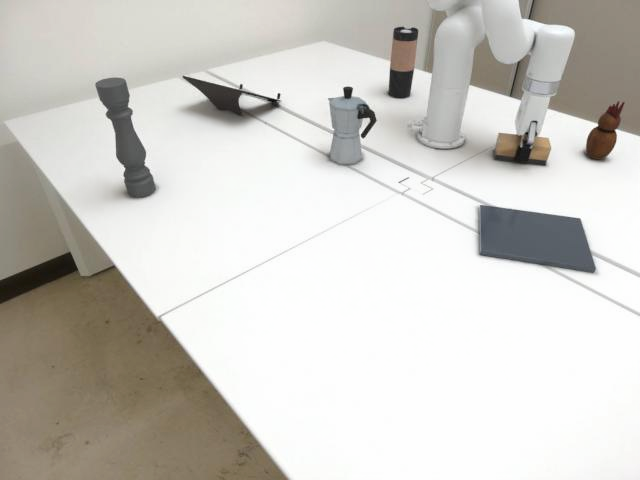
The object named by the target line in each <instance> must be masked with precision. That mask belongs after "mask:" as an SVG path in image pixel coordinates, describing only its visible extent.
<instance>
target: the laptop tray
mask: <svg viewBox="0 0 640 480" xmlns="http://www.w3.org/2000/svg"><path fill="white" fill-rule="evenodd" d="M181 77H182V79H183V80H185V81H186V82H188V83H189V84H191V85H192V86H193V87H194V88H195V89H197V90H198V91H199V92H200V93H201V94H203V96H205V97H206V99H208V100H209V101H210V103H211V104H212V105H213V106H214V107H215V108H216V109H217V110H220V111H226V112H230V113H232V114H235V115H237V116H241V117H242V116H243V112H242V109H241V106H240V97H241V95H243V96H246V97H251V98H255V99H258V100H263V101H265V102H269V103H271V104H275V105H279V102H282V100H281V95H282V93H280V92H278V93H277V96H276V98H273V97H269V96H265V95H261V94H258V93H254V92H251V91H246V90H243V85H244V84H242V83H240V84H239V89H238V88H234V87H230V86H226V85H221V84H218V83H214V82H210V81H207V80H201V79H198V78H195V77H190V76H186V75H182V76H181Z"/></svg>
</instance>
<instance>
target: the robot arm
mask: <svg viewBox="0 0 640 480" xmlns="http://www.w3.org/2000/svg"><path fill="white" fill-rule="evenodd" d="M425 1H426V3H427V5H428V6H429V7H430V9H432V10H434V11H438V12H445V14H446V18H444V20H443V21H442V22H441V23H440V24H439V26H438V28H437V30H436V33H435V36H434V42H433V63H432V73H431V77H430V87H429V94H428V101H427V107H426V112H425V113H426V114H425V117H424V120H421V119H420V120H419V121H418V120H414V119H413V120H412V119H408V122H407V128H411V131H414V132H417V136H416V138H417V139H418V141H419V142H420V143H421V144H423V145H424V146H427V147H430V148H433V149H441V150H448V149H449V150H451V149H456V148H458V147H460V146H462V145H463V144H464V143H465V138H466V135H465V134H464V133H463V132H462V131H461V128H462V125H463V118H464V114H465V110H466V104H467V100H468V94H469V89H470V85H471V84H470V83H471V80H472V73H473V67H474V66H473V65H474V54H475V50H476V47H477V46H478V45H480V44H481V43H482V42H483V41H484V40H485V38H486V37H487V41H488V44H489V48H490V51H491V53H492V55H493V57H494V58H495V59H496V60H497V61H498V62H499V63H501V64H504V65H505V64H506V65H512V64H515V63H517V62H520V61H521V60H523V58H524V57H525V56H526V55H529V56H530V58H529V62H528V64H527V65H528V66H527V69H526V73H525V77H524V80H523V83H522V87H521V90H522V92H523V94H522V97H521V100H520V103H519V106H518V109H517V112H516V115H515V119H514V127H515V131H516V132H515V133H516V134H517V135H518V136H520V135H522V137H521V142H520V146H518V148H517V151H516V155H515V158H514V160H515V161H518V162H528V160H529V157H530V153H531V150H532V146H533V142H534V138H535V137H540V134H541V131H542V128H543V125H544V123H545V122H544V121H545V120H546V116H547V112H548V109H549V105H550V101H551V97H554V96H556V95H557V93H558V91H559V87H560V84H561V81H562V79H563V74H564V71H565V68H566V66H567V62H568V59H569V56H570V53H571V50H572V47H573V45H574V44H573V43H574V41H575V37H576V31H575V30H574V28H572V27H570V26H566V25H562V24H545V23H542V22H539V21H535V20H532V19H528V18H522V14H521V8H520V2H519V0H425ZM525 137H528V138H527V140H525V141H524V138H525ZM518 162H517V163H518Z"/></svg>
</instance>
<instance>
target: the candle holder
mask: <svg viewBox="0 0 640 480" xmlns="http://www.w3.org/2000/svg"><path fill="white" fill-rule="evenodd" d="M94 86H95V89H96V92H97V95H98V98H99V101H100V102H101V104H102V105H103V107H104V108H106V110H107V111H106V112H105V117H106V118H107V119H108V120H110V121H111V125H112V129H113V131H114V136H115V140H114V141H115V157H116V159H117V161H118V162H119V163H120V164H121V165H122V166H123V168H124V171H123V173H122V175H123V177H124V179H123V183H124V186H125V189H126V193H127V195H128V196H129V197H131V198H133V199H143V198H146V197H150V196H151V195H153V194H154V193H155V192H156V189H157V188H156V183H155V179H154V176H153V174H152V173H151V169H150V168H149V167H148V166H146V162H145V161H146V159H147V150H146V148H145V146H144V145H143V142H142V141H141V139H140V137H139V136H138V134H137V132H136V130H135V128H134V124H133V120H132V116H133V114H134V110H133V109H132V108H131V107H129V104H130V97H131V95H130V91H129V86H128V84H127V80H126V79H125V78H124V77H114V76H113V77H108V78H107V77H106V78H102V79H100V80H98V81H96V82H95V84H94Z"/></svg>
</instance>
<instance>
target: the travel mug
mask: <svg viewBox="0 0 640 480" xmlns="http://www.w3.org/2000/svg"><path fill="white" fill-rule="evenodd" d="M418 38H419V29H418V28H417V27H410V28H406V27H405V26H396V27H394V29H393V33H392V43H391V53H390V64H389V78H388V95H389V96H390V97H392V98H395V99H405V98H409V97H410V96H411V92H412V87H413V81H414V80H413V78H414V73H415V72H414V71H415V65H416V55H417V47H418V40H419V39H418Z"/></svg>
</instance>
